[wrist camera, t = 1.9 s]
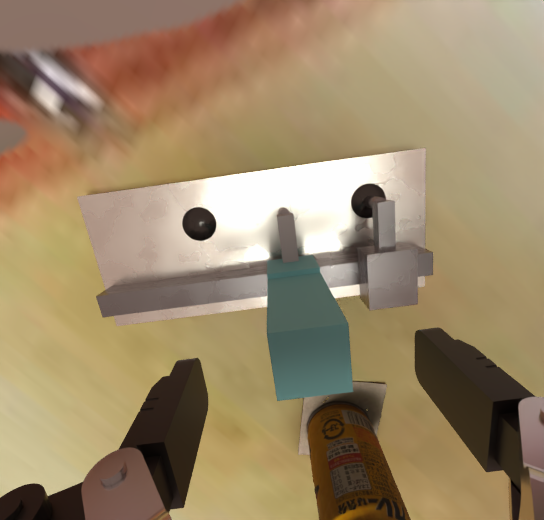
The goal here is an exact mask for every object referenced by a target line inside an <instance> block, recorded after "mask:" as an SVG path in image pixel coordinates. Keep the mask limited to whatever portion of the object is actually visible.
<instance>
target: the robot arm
mask: <svg viewBox="0 0 544 520" xmlns="http://www.w3.org/2000/svg"><path fill="white" fill-rule="evenodd" d="M415 372H416V376H417V378H418V381H419V383H420V384H421V386H422V387H423V389H424V390H425V391H426V393H427V394H428V395H429V397H430V398H431V399H432V401H433V402H434V403H435V404H436V406H437V407H438V408H439V410H440V411H441V412H442V414H443V415H444V416H445V418H446V419H447V420H448V422H449V423H450V424H451V426H452V427H453V428H454V430H455V431H456V432H457V434H458V435H459V436H460V438H461V439H462V440H463V442H464V443H465V444H466V446H467V447H468V448H469V450H470V451H471V452H472V454H473V455H474V456H475V458H476V459H477V460H478V462H479V463H480V464H481V466H482V467H483V468H484V470H485V471H486V472H492V471H500V470H504V471H505V473H506V474H507V475H508V476H509V487H508V488H509V513H510V520H544V397H535V396H534V395H533V394H532V393H530V392H529V391H528V390H527V389H525V388H524V387H523V386H522V385H521V384H519V383H518V382H517V381H516V380H514V379H513V378H512V377H511V376H509V375H508V374H507V373H506V372H504V371H503V370H502V369H501V368H500V367H497V366H496V364H495V363H493V362H492V361H491V360H490V359H487V358H486V356H485V355H483V354H482V353H481V352H480V351H479V350H477V349H476V348H475V347H473V346H471V345H469V344H467V343H465V342H462V341H460V340H454V339H453V338H451V337H450V336H449V335H448V334H447V333H446V332H444V331H443V330H442V329H441V328H431V329H423V330H417V331H416V333H415ZM207 411H208V393H207V388H206V384H205V380H204V375H203V371H202V367H201V363H200V360H199V359H198V358H194V359H186V360H178V361H177V362H176V363H175V365H174V368H173V370H172V372H171V374H170V376H165V377H162V378H161V379H160V380H159V381H158V382H157V383H156V384H155V385H154V386H153V387H152V388H151V390H150V392H149V394H148V396H147V398H146V401H145V402H144V403H143V405H142V407H141V409H140V412H139V413H138V414H137V416H136V418H135V420H134V422H133V424H132V426H131V427H130V429H129V431H128V433H127V435H126V437H125V439H124V440H123V442H122V444H121V446H120V448H119V450H117V451H114V452H112V453H110V454H108V455H107V456H105V457H104V458H103V459H101V460H100V461H99V462H98V463H97V464H96V465H94V467H93V468H92V469H91V470H90V471H89V473H88V474H87V476H86V477H85V479H84V482H82V483H79V484H77V485H75V486H72V487H70V488H67V489H65V490H62V491H60V492H57V493H55V494H52V495H50V496H47V494H46V492H45V490H44V487H43V486H42V485H40V484H27V485H24V486H21V487H18V488H16V489H14V490H12V491H10V492H9V493H7V494H5V495H4V496H2V497H1V498H0V520H172V519H171V517H170V515H169V511H170V509H177V508H184V505H185V500H186V496H187V492H188V488H189V484H190V480H191V476H192V472H193V468H194V464H195V460H196V456H197V452H198V448H199V444H200V439H201V435H202V431H203V427H204V423H205V419H206V415H207Z"/></svg>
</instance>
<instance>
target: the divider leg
mask: <svg viewBox="0 0 544 520" xmlns="http://www.w3.org/2000/svg"><path fill="white" fill-rule="evenodd" d="M277 222H278V229H279V237H280V245H281V252H282V259H277V260H269V261H267V278H268V287H267V338H268V344H269V351H270V357H271V364H272V370H273V376H274V383H275V389H276V396H277V401H280V400H289V399H297V398H305V397H314V396H322V395H331V394H339V393H347V392H353V383H352V369H351V355H350V341H349V326H348V322H347V320H346V318H345V316H344V315H343V313H342V311H341V309H340V307H339V305H338V304H337V302H336V300H335V298H334V296H333V295H332V293H331V291H330V289H329V287H328V285H327V284H326V282H325V280H324V278H323V276H322V274H321V273H320V267H319V265H318V263H317V261H316V260H315V258H314V256H313V255H307V256H299V257H298V248H297V239H296V230H295V221H294V214H293V213H290V212H289V210H288V209H287V208H284V207H283V208H280V209H279V210H278V215H277Z"/></svg>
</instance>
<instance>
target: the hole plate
mask: <svg viewBox="0 0 544 520" xmlns="http://www.w3.org/2000/svg"><path fill="white" fill-rule="evenodd" d="M425 195H426V148H421V149H414V150H406V151H399V152H392V153H385V154H378V155H371V156H364V157H357V158H349V159H342V160H335V161H328V162H321V163H314V164H307V165H300V166H293V167H285V168H278V169H271V170H264V171H257V172H250V173H243V174H236V175H229V176H221V177H214V178H207V179H200V180H193V181H186V182H179V183H172V184H164V185H157V186H150V187H143V188H136V189H129V190H122V191H115V192H108V193H100V194H93V195H86V196H79V197H77V198H78V202H79V205H80V208H81V211H82V215H83V218H84V221H85V224H86V228H87V231H88V234H89V237H90V241H91V244H92V247H93V250H94V253H95V257H96V260H97V263H98V266H99V270H100V273H101V276H102V279H103V283H104V286H105V289H106V290H105V291H103V292H102V293H100V294H99V295H97V296H96V298H97V301H98V304H99V307H100V310H101V313H102V316H103V317H109V316H114V318H115V321H116V325H117V326H121V325H129V324H137V323H144V322H152V321H160V320H168V319H176V318H183V317H191V316H199V315H207V314H215V313H223V312H230V311H238V310H246V309H254V308H262V307H267V287H268V278H267V261H269V260H277V259H282V252H281V245H280V237H279V229H278V222H277V215H278V210H279V209H280V208H283V207H284V208H287V209H288V210H289V212H290V213H293V214H294V221H295V230H296V239H297V248H298V257H299V256H307V255H313V256H314V258H315V260H316V261H317V263H318V265H319V267H320V273H321V274H322V276H323V278H324V280H325V282H326V284H327V285H328V287H329V289H330V291H331V293H332V295H333V296H334V298H340V297H348V296H356V295H360V298H361V300H362V301H363V302H364V304H365V305H366V306H367V308H368V309H369V310H376V309H384V308H392V307H400V306H408V305H416V304H418V287H425V276H428V275H433V252H431V251H429V250H427V249H425Z"/></svg>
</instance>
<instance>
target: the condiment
mask: <svg viewBox="0 0 544 520" xmlns="http://www.w3.org/2000/svg"><path fill="white" fill-rule="evenodd" d="M352 383H353V392H347V393H339V394H331V395H322V396H314V397H305V398H304V403H303V412H302V421H301V431H300V441H299V453H298V455H302V454H303V455H310V459H311V465H312V474H313V476H312V477H313V482H314V486H315V494H316V499H317V507H318V513H319V520H411V519H410V517H409V514H408V512H407V509H406V507H405V505H404V502H403V500H402V498H401V494H400V493H399V490H398V488H397V485H396V483H395V481H394V478H393V476H392V473H391V470H390V468H389V466H388V463H387V461H386V458H385V456H384V454H383V451H382V449H381V446H380V444H379V441H378V438H377V431H378V426H379V422H380V418H381V412H382V408H383V401H384V397H385V394H386V388H387V384H377V383H366V382H352ZM327 397H329V399H328V400H326V398H327ZM324 400H326V402H324V403H322V402H323V401H324ZM366 409H368V411H366Z"/></svg>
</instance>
